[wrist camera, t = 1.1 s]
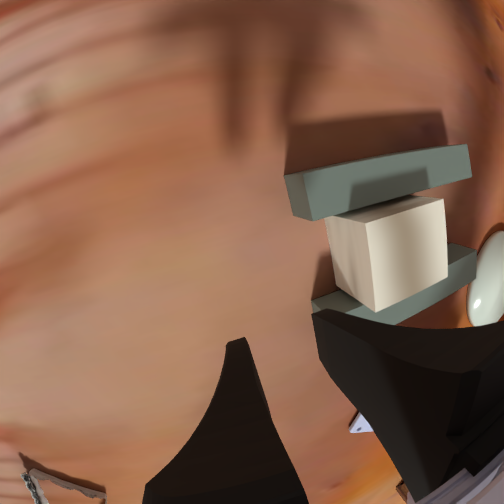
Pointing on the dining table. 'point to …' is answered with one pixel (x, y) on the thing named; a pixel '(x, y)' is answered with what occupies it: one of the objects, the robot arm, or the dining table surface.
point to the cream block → (389, 249)
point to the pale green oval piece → (487, 283)
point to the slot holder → (378, 190)
